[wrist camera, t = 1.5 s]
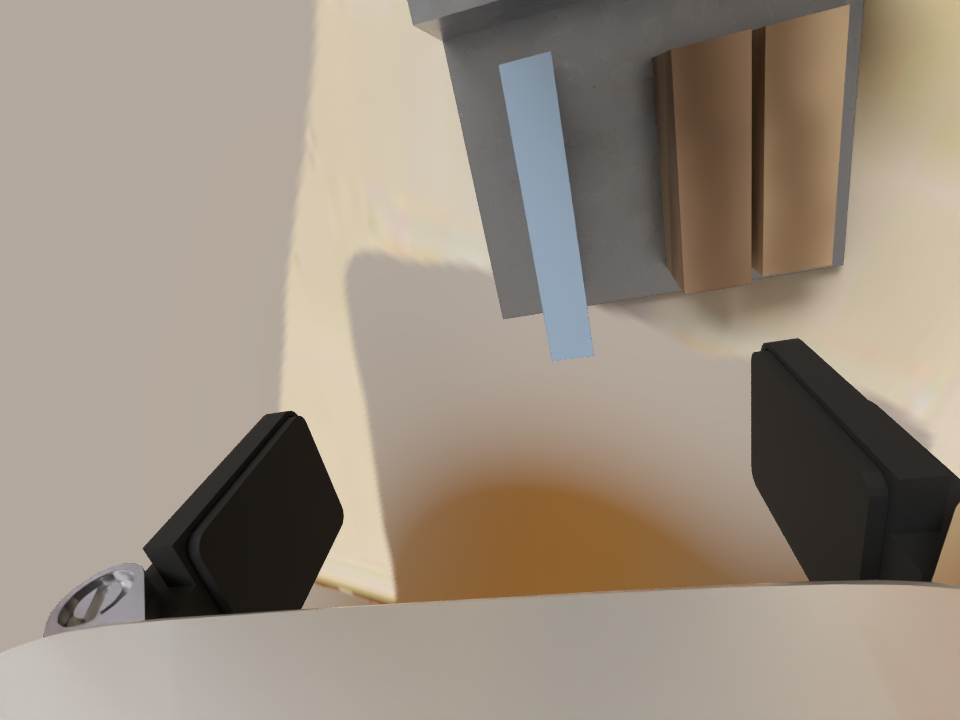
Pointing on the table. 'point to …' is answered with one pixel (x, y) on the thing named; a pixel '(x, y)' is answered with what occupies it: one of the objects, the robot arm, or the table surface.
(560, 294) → the sheet
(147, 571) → the robot arm
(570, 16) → the rack
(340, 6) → the table surface
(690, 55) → the offcut tall
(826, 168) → the offcut short
